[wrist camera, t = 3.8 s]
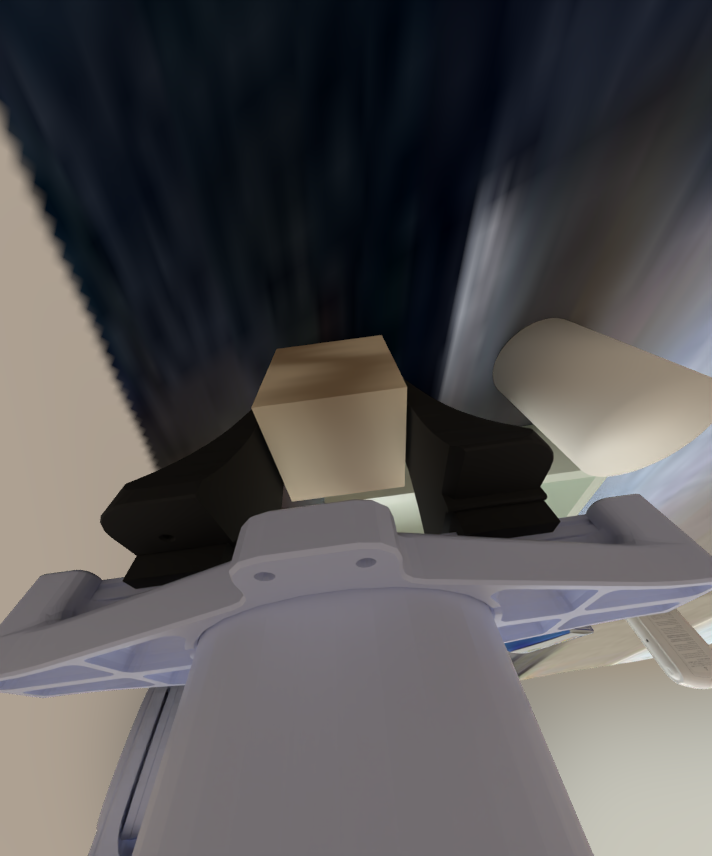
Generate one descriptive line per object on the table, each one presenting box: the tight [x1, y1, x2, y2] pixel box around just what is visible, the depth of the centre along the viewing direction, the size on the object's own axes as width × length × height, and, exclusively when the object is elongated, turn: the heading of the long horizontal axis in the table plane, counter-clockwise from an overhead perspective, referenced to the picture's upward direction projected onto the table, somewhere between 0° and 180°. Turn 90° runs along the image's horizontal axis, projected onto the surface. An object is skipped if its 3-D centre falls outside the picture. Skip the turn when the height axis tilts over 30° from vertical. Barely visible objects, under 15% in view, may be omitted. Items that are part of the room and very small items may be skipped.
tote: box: [324, 425, 607, 534], centre depth 21 cm, size 18×14×4 cm
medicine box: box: [504, 626, 594, 653], centre depth 30 cm, size 8×4×9 cm, turn 151°
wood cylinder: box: [493, 318, 712, 477], centre depth 13 cm, size 5×5×7 cm
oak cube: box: [251, 335, 407, 502], centre depth 12 cm, size 5×5×5 cm
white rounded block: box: [625, 608, 712, 689], centre depth 51 cm, size 10×4×12 cm, turn 91°
